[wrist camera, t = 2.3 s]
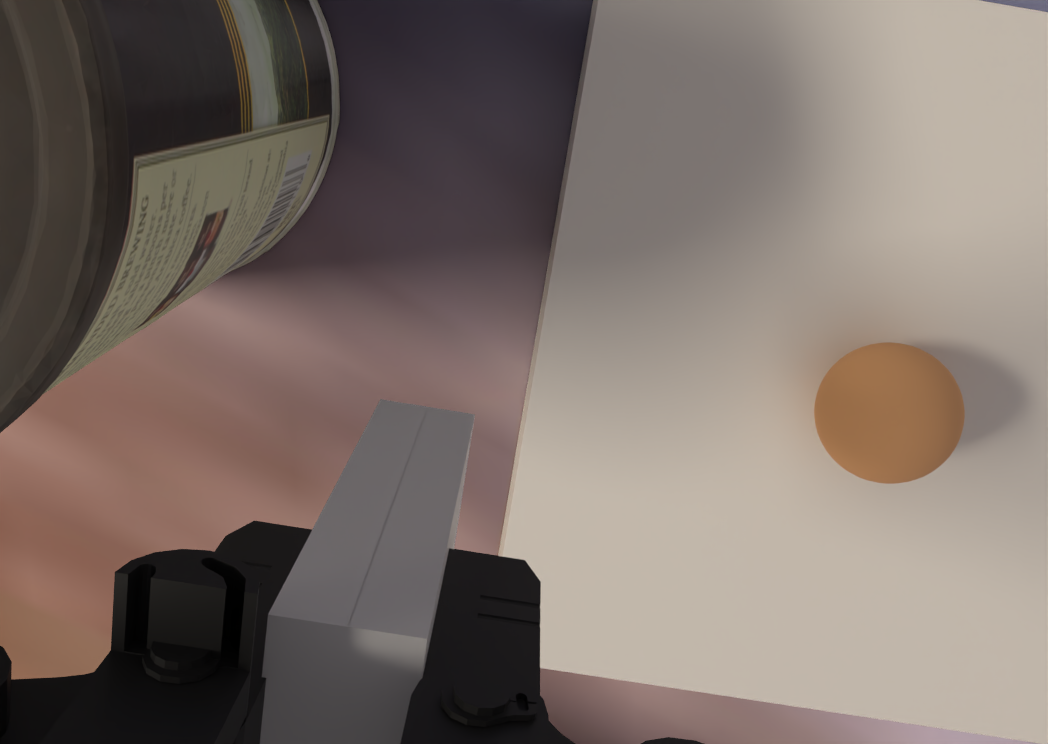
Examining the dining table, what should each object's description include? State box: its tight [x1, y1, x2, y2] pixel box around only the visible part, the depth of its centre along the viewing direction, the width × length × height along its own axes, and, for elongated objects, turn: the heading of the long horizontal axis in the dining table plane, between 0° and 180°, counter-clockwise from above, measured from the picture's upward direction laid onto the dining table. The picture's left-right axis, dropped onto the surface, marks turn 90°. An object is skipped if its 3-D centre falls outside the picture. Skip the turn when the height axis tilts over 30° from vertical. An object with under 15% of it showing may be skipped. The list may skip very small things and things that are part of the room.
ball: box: [814, 342, 965, 484], centre depth 22 cm, size 3×3×3 cm
